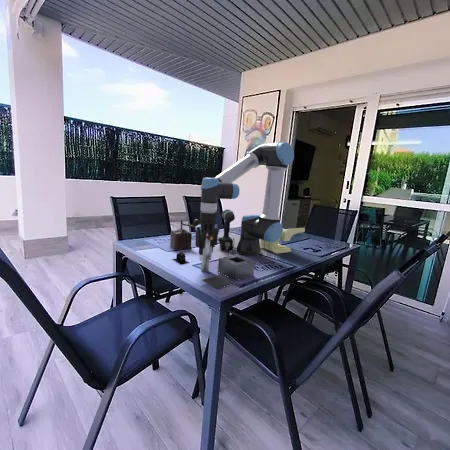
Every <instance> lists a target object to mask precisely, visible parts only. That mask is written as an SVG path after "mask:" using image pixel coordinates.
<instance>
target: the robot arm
mask: <svg viewBox="0 0 450 450" xmlns="http://www.w3.org/2000/svg"><path fill="white" fill-rule="evenodd" d="M294 160H295V152H294V148H293V147H292V145H291V144H290V143H289V142H286V141H285V142H284V141H279V142H265V143H261V144H259V145H257V146H255V147H254V148H252V149H251V150H249V151H248V152H247V153H246V154H245V156H244V157H243V158H241V159H240V160H238V161H237V162H235V163H234V164H233V165H230V167H228V168H227V169H225V170H223V171H222V172H221V173H219V174H218V175H216V176H215V177H203V178H202V181H201V185H200V190H201V192H200V194H201V195H200V213H199V219H200V220H199V221H200V223H199V224H198V226H195V227H193V228H194V230H195V244H194V245H195V247H196V248H198V255H199V261H200V262H201V263H202V262H204V257H205V248H204V244H205V239H206V234H207V235H209V236H212V237H213V240H211V242H210V257H209V261H212V259H213V258H212V255H213V253H214V248H215V247H216V245H218V238H219V231H220V227H221V225H219V224H217V222H216V221H217V211H218V202H219V201H218V200H233V199H234V200H235V199H237V198H238V197H239V196H240V187H239V185H238V184H237V183H234V182H235V181H237V180H238V179H239V178H241V177H242V176H244V175H245V174H246V173H248V172H250V171H251V170H252V169H256V168H258V167H259V166H263V165H265V168H266V169H267V177H266V185H265V192H264V193H265V194H264V199H263V200H264V201H263V207H262V213H261V214H244V215H243V216H242V217H241V221H240V225H241V226H240V236H239V237H240V238H239V241H238V243H237V246H236V250H235V251H236V252H237V253H238V254H239V255H240V254H241V255H245V256H258V255H260V254H261V253H262V247H261V243H260V240H261V239H262V240H265V241H266V242H276V241H277V240H278V239H279V238H280V237H281V235H282V233H283V228H284V226H283V224H282V223H281V219H280V217H279V210H280V204H281V203H280V202H281V195H282V189H283V182H284V176H285V175H284V174H285V172H286V171H287V170H288V169H289V168H288V167H289V165H291V164H293V161H294Z"/></svg>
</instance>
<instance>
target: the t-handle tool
mask: <svg viewBox="0 0 450 450" xmlns="http://www.w3.org/2000/svg"><path fill="white" fill-rule="evenodd" d="M211 240H213V237H212V236H209V235H208V233H207V234H206V239H205V244H204V248H205V257H204V262H202V261H201V264H200V267H201V268H200V271H201V272H205V273H206V272H209V269H210V268H209V267H210V260H209V257H210V242H211Z"/></svg>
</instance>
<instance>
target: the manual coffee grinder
mask: <svg viewBox="0 0 450 450" xmlns="http://www.w3.org/2000/svg"><path fill="white" fill-rule="evenodd" d="M199 224H200V220H199V219H197V218H195V219H194V220H193V225H191V224H187V223H183V220H180V228H179V229H176V230H171V231H170V241H169V242H170V243H169V246H170V245H171V246H170V247H171V248H172V249H174V250H175V251H177V250H179V251H180V250H188V249H192V236H193V235H192V233H191V232H190V231H187V230H186V229H184V228H183V226H187V227H190V228H194V227H195V226H198V225H199Z"/></svg>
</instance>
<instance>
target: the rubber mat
mask: <svg viewBox="0 0 450 450" xmlns="http://www.w3.org/2000/svg"><path fill="white" fill-rule="evenodd" d="M202 281H203V282H205V283H206V284H208V285H210V286H211V285H212V287H213V286H214V287H213V288H215V287H216V288H215V289H217V288H219V289H221V288H220V287H222V288H225V287H228V286H227V285H229V286H231V285H230V284H232V285H234V284H233V283H235V284H236V281H234V280H232V279H230V278H228V277H227V276H225V275H223V274H218V275H217V274H216V275H215V276H214V275H213V276H211V277H210V276H209V277H207V278H202ZM224 286H225V287H224Z"/></svg>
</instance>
